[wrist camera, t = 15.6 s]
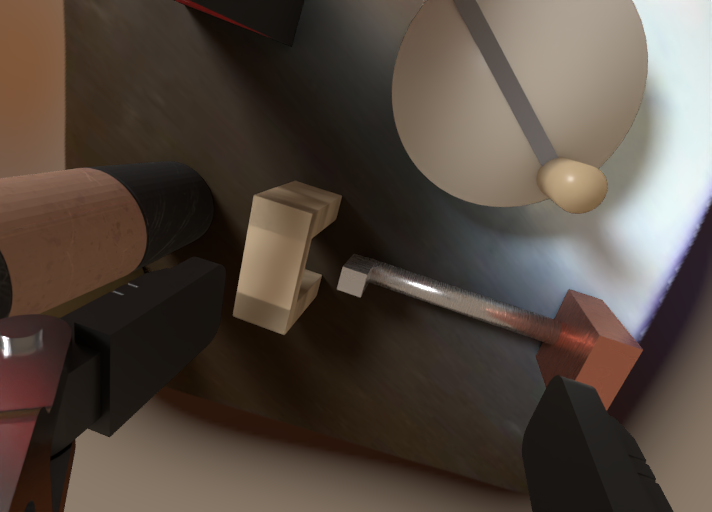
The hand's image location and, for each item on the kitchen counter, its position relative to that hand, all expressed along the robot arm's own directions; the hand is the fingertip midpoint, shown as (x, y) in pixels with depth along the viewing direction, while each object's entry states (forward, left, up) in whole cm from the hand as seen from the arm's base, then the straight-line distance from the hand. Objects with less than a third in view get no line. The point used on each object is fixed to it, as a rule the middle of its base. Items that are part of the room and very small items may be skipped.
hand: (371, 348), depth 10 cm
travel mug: (+7, -20, -23) cm, 32 cm away
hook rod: (+6, +5, -23) cm, 24 cm away
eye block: (+6, -8, -23) cm, 25 cm away
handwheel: (-8, +3, -20) cm, 22 cm away
